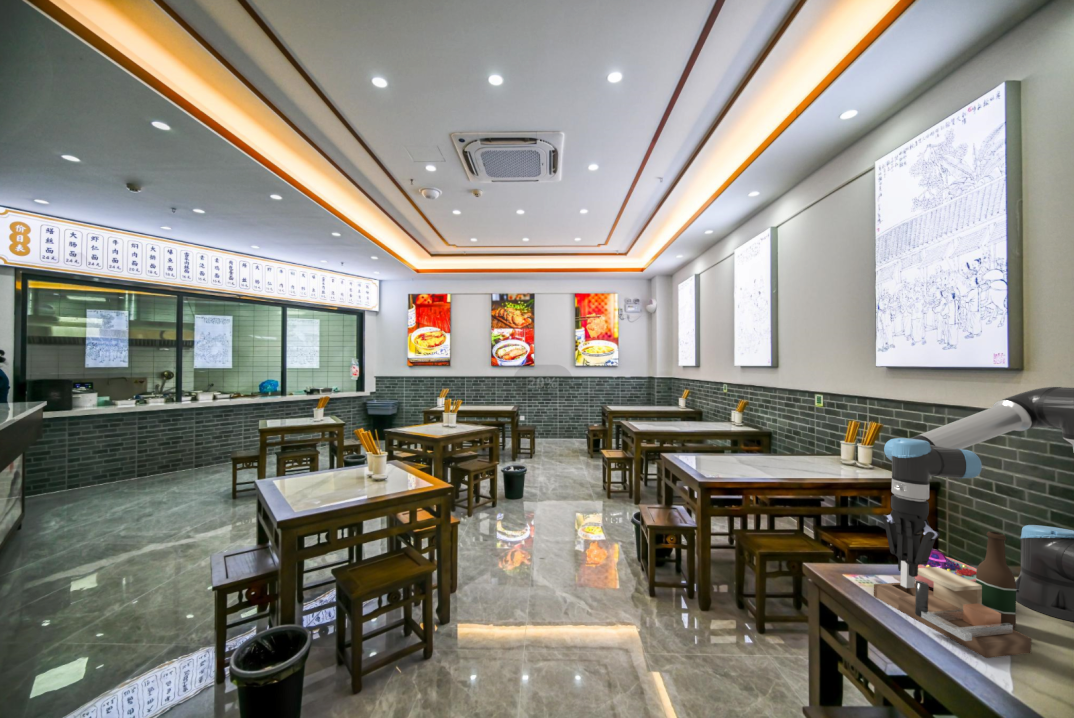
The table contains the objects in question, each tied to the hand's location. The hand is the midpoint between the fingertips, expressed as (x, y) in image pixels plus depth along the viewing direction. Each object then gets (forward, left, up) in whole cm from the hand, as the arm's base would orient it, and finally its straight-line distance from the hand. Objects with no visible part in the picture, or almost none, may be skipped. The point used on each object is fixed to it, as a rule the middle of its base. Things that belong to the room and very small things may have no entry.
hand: (907, 586), depth 110 cm
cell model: (-30, -13, -10) cm, 34 cm away
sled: (-7, +8, -6) cm, 12 cm away
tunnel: (-12, 0, -6) cm, 14 cm away
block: (-12, +8, -6) cm, 16 cm away
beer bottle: (-25, +3, -10) cm, 27 cm away
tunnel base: (-11, +1, -9) cm, 15 cm away
